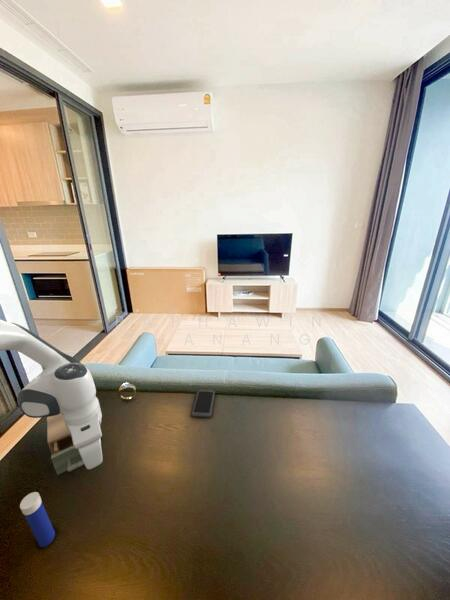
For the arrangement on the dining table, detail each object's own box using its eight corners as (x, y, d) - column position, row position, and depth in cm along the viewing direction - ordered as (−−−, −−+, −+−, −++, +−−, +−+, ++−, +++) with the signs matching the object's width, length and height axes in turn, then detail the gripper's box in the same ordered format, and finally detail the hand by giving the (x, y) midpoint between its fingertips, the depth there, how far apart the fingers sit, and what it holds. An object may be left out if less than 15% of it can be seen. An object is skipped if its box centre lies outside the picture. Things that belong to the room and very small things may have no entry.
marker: (38, 551, 56) (19, 513, 51) (38, 536, 58) (20, 498, 53) (55, 540, 57) (39, 502, 53) (55, 526, 60) (39, 488, 55)
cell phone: (191, 416, 91) (190, 415, 91) (198, 390, 104) (198, 389, 104) (210, 417, 90) (210, 416, 90) (215, 391, 103) (215, 390, 103)
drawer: (102, 464, 74) (98, 448, 71) (57, 488, 68) (51, 471, 65) (93, 423, 88) (89, 408, 86) (55, 439, 82) (50, 424, 80)
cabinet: (99, 442, 82) (94, 422, 79) (54, 463, 75) (47, 443, 72) (92, 412, 94) (87, 394, 91) (53, 428, 87) (46, 410, 84)
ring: (138, 396, 102) (135, 380, 99) (136, 401, 99) (133, 385, 96) (120, 398, 101) (117, 382, 98) (118, 403, 98) (115, 387, 95)
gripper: (67, 399, 75) (78, 433, 79) (74, 450, 59) (86, 488, 64) (90, 391, 78) (99, 423, 83) (102, 436, 62) (111, 473, 67)
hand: (93, 452), depth 73 cm, fingers closed
